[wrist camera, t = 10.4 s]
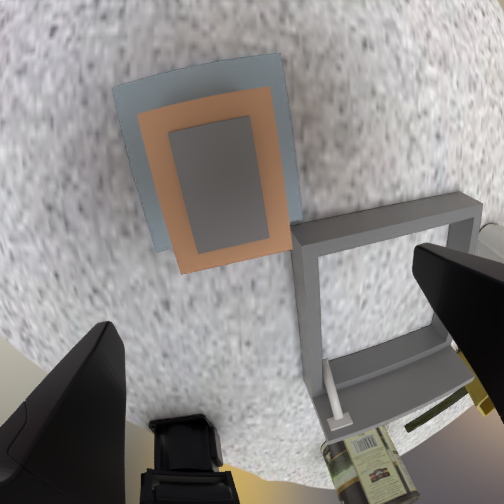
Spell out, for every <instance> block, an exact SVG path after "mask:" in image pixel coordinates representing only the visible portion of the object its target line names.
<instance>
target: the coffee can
mask: <svg viewBox="0 0 504 504" xmlns="http://www.w3.org/2000/svg"><path fill="white" fill-rule="evenodd" d="M321 453H322V454H323V456H324V459H325V462H326V465H327V467H328V470H329V473H330V476H331V478H332V481H333V484H334V487H335V489H336V492H337V495H338V498H339V501H340V503H341V504H413V503H414V502H415V501H417V500H418V499H419V498H420V497H421V496H420V494H419V493H418V492H417V490H416V488H415V486H414V484H413V482H412V480H411V478H410V476H409V474H408V472H407V470H406V468H405V466H404V464H403V462H402V460H401V458H400V456H399V454H398V452H397V450H396V448H395V446H394V444H393V442H392V440H391V438H390V436H389V434H388V433H387V431H386V429H385V427H384V425H382V426H380V427H377V428H375V429H372V430H370V431H367V432H365V433H362V434H359V435H356V436H354V437H351V438H348V439H345V440H342V441H339V442H336V443H333V444H330V445H328V443H327V441H326V442H325V443H324V444H323V446H322V448H321Z"/></svg>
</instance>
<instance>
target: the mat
mask: <svg viewBox="0 0 504 504" xmlns="http://www.w3.org/2000/svg"><path fill="white" fill-rule="evenodd" d="M269 86H270V89H271V96H272V102H273V108H274V114H275V121H276V127H277V134H278V141H279V147H280V154H281V161H282V169H283V176H284V183H285V191H286V198H287V206H288V214H289V222H293V221H298V220H303V213H302V204H301V195H300V186H299V177H298V169H297V161H296V153H295V145H294V138H293V131H292V123H291V116H290V110H289V103H288V96H287V90H286V83H285V77H284V71H283V65H282V59H281V53H276V54H266V55H258V56H250V57H243V58H236V59H230V60H224V61H218V62H212V63H207V64H202V65H197V66H192V67H187V68H183V69H178V70H174V71H170V72H166V73H162V74H158V75H154V76H151V77H147V78H143V79H140V80H137V81H133V82H130V83H127V84H123V85H120V86H117V87H114V88H112V90H113V94H114V99H115V104H116V108H117V113H118V117H119V121H120V126H121V130H122V134H123V138H124V142H125V146H126V150H127V154H128V158H129V161H130V165H131V169H132V172H133V176H134V180H135V183H136V187H137V190H138V194H139V197H140V201H141V204H142V207H143V211H144V214H145V217H146V220H147V224H148V227H149V230H150V233H151V236H152V239H153V242H154V245H155V248H156V251H157V252H160V251H164V250H168V249H173V247H172V243H171V240H170V237H169V233H168V230H167V227H166V223H165V220H164V216H163V213H162V210H161V206H160V202H159V199H158V195H157V192H156V188H155V184H154V181H153V177H152V173H151V169H150V165H149V161H148V157H147V153H146V149H145V145H144V141H143V137H142V133H141V129H140V124H139V120H138V116H137V114H140V113H143V112H147V111H150V110H154V109H158V108H161V107H165V106H169V105H173V104H177V103H182V102H186V101H190V100H195V99H199V98H204V97H209V96H214V95H219V94H224V93H230V92H236V91H242V90H248V89H255V88H261V87H269Z"/></svg>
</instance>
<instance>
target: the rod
mask: <svg viewBox="0 0 504 504" xmlns="http://www.w3.org/2000/svg"><path fill="white" fill-rule="evenodd" d="M466 394H468V391H467V389H466V388H465V386H463V387H461V388H460V389H459V390H457V391H456V392H455V393H453V394H452V395H451V396H449V397H448V398H446V399H445V400H444V401H442V402H441V403H439V404H438V405H436V406H435V407H433V408H432V409H430V410H429V411H427V412H426V413H424V414H423V415H421V416H419V417H418V418H416V419H415V420H413V421H411V422H410V423H408V424H406V425H405V426H404V427H405V429H406V430H407V432H408V433H409V432H411V431H412V430H414V429H416V428H417V427H419V426H421V425H423V424H424V423H426V422H427V421H429V420H430V419H432V418H433V417H435V416H436V415H438V414H439V413H441V412H442V411H444V410H445V409H447V408H448V407H450V406H451V405H453V404H454V403H455V402H457V401H458V400H459V399H461V398H462V397H464V396H465V395H466Z"/></svg>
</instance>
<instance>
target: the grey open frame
mask: <svg viewBox="0 0 504 504" xmlns="http://www.w3.org/2000/svg"><path fill="white" fill-rule="evenodd" d="M482 209H483V203H481V202H479V201H477V200H475V199H473V198H472V197H470V196H468V195H466V194H464V193H462V192H455V193H450V194H445V195H440V196H435V197H430V198H424V199H419V200H414V201H409V202H404V203H399V204H395V205H390V206H385V207H380V208H375V209H370V210H365V211H360V212H356V213H351V214H346V215H341V216H336V217H332V218H327V219H322V220H318V221H313V222H308V223H304V224H299V225H294V226H290V230H291V239H292V247H293V249H292V250H291V255H292V263H293V272H294V281H295V291H296V300H297V310H298V321H299V331H300V342H301V353H302V365H303V377H304V382H305V384H306V387H307V390H308V392H309V395H310V398H311V400H312V403H313V406H314V408H315V411H316V414H317V416H318V419H319V422H320V424H321V427H322V430H323V432H324V435H325V438H326V440H327V443H328V445H330V444H333V443H336V442H339V441H342V440H345V439H348V438H351V437H354V436H356V435H359V434H362V433H365V432H367V431H370V430H372V429H375V428H377V427H380V426H382V425H385V424H387V423H390V422H392V421H394V420H397V419H399V418H401V417H404V416H406V415H408V414H410V413H412V412H415V411H417V410H419V409H421V408H423V407H425V406H427V405H429V404H431V403H433V402H435V401H437V400H439V399H441V398H443V397H445V396H447V395H449V394H451V393H452V392H454V391H456V390H458V389H460V388H461V387H463V386H465V385H467V384H468V383H470V382H472V381H473V379H474V377H475V375H474V374H473V373H472V372H471V370H470V369H469V368H468V366H467V365H466V364H465V363H464V361H463V360H462V359H461V358H460V356H459V355H458V354H457V353H456V351H455V350H454V349H453V348H452V347H451V342H452V339H453V338H452V337H451V335H450V334H449V332H448V331H447V329H446V328H445V327H444V325H443V324H442V322H441V321H440V319H439V318H438V316H437V315H436V313H435V312H434V315H433V319H432V323H431V325H429V326H427V327H424V328H422V329H419V330H417V331H414V332H412V333H409V334H407V335H404V336H401V337H399V338H396V339H393V340H391V341H388V342H385V343H383V344H380V345H377V346H374V347H371V348H368V349H365V350H362V351H359V352H356V353H353V354H350V355H347V356H344V357H341V358H338V359H334V360H331V361H328V359H327V358H326V359H322V335H321V307H320V286H319V268H318V257H319V256H323V255H327V254H331V253H336V252H340V251H344V250H348V249H352V248H356V247H360V246H364V245H368V244H372V243H376V242H380V241H384V240H388V239H392V238H396V237H400V236H404V235H408V234H412V233H416V232H420V231H423V230H427V229H431V228H435V227H439V226H443V225H446V224H450V226H449V234H448V241H447V248H450V249H454V250H458V251H461V252H465V253H469V254H472V255H475V252H476V247H477V241H478V236H479V230H480V223H481V216H482Z"/></svg>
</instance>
